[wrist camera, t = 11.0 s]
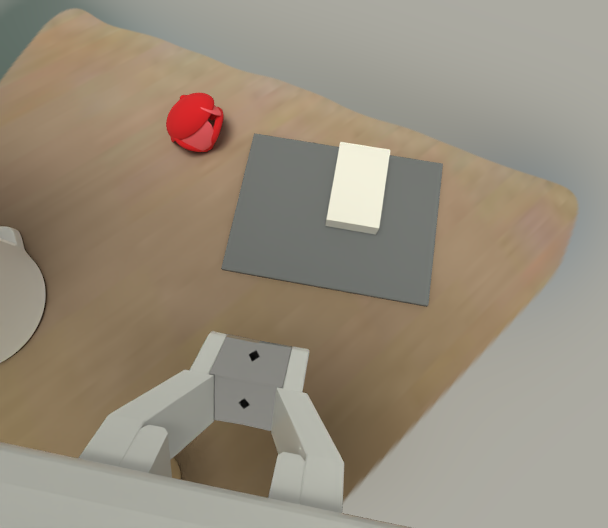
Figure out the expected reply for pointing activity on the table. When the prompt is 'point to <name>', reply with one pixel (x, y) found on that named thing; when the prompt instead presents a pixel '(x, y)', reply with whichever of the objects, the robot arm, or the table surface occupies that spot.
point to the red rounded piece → (195, 122)
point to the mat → (328, 240)
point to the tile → (358, 188)
